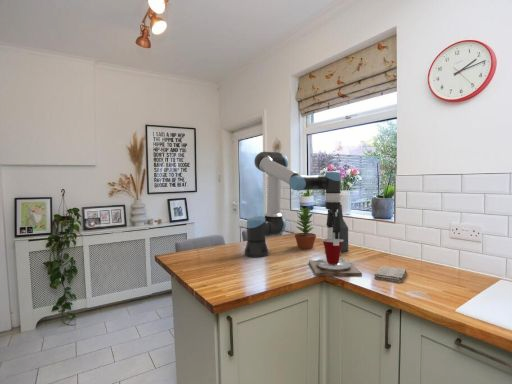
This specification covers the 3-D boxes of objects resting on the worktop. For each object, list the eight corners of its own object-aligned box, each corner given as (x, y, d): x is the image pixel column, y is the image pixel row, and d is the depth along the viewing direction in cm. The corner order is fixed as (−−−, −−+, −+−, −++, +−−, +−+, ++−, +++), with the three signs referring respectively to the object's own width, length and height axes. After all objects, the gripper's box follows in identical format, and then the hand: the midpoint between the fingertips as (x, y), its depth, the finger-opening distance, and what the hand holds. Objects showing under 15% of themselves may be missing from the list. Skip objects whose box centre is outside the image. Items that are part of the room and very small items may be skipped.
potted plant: (290, 246, 203) (290, 203, 202) (309, 244, 208) (309, 203, 207) (299, 250, 189) (299, 205, 188) (320, 248, 194) (320, 204, 193)
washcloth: (373, 279, 134) (373, 273, 134) (380, 269, 149) (380, 263, 149) (401, 284, 127) (401, 277, 127) (406, 273, 142) (406, 267, 142)
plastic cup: (341, 259, 155) (341, 237, 154) (345, 265, 144) (345, 241, 144) (321, 259, 156) (320, 237, 155) (323, 264, 145) (323, 241, 145)
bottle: (349, 249, 191) (349, 204, 190) (346, 252, 183) (346, 205, 182) (334, 247, 197) (334, 203, 195) (330, 250, 188) (330, 205, 187)
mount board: (315, 276, 139) (315, 269, 139) (308, 263, 161) (308, 256, 161) (361, 276, 138) (361, 268, 138) (348, 263, 160) (348, 256, 160)
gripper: (347, 203, 135) (347, 248, 136) (334, 199, 160) (334, 237, 161) (331, 203, 136) (331, 248, 137) (321, 199, 161) (321, 237, 162)
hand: (333, 242), depth 149 cm, fingers open, 13 cm apart
